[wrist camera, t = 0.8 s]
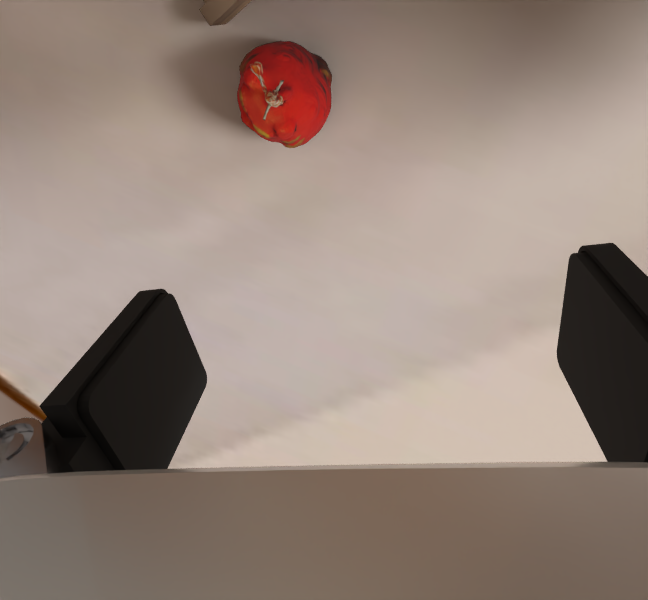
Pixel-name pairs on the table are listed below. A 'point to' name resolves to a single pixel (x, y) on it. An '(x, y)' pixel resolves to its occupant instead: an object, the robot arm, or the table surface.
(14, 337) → the table surface
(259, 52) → the red clay folk toy
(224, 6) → the display tray
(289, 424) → the table surface
